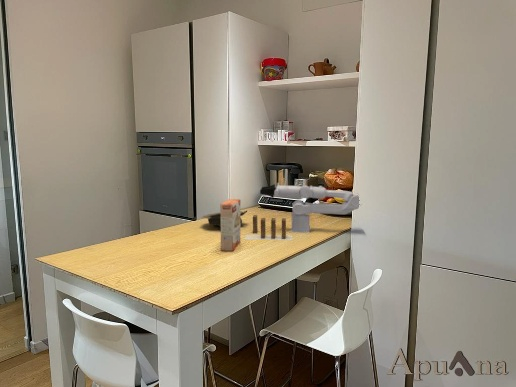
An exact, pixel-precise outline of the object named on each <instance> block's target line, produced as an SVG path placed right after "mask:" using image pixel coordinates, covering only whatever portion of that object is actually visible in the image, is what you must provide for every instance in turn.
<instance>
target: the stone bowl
mask: <svg viewBox="0 0 516 387" xmlns="http://www.w3.org/2000/svg"><path fill="white" fill-rule="evenodd" d="M247 212H248V210H245V211H241V210H240V226H241V224H242V223H243V219H242V217H243V216H244V215H245V214H246V213H247ZM201 218H203V219H207V221H208V224H210V225H212V226H219V227H221V212H216V213H209V214H207V215H206V214H204V215H202V216H201Z"/></svg>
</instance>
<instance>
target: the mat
mask: <svg viewBox="0 0 516 387" xmlns="http://www.w3.org/2000/svg"><path fill="white" fill-rule="evenodd" d="M243 240H249V241H293V235H292V234H291V235H289V234H288V235H287V234H286V239H282V234H276V237H275V239H271V234H265V239H261V234H245V236H244V237H243Z"/></svg>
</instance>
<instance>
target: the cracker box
mask: <svg viewBox="0 0 516 387" xmlns="http://www.w3.org/2000/svg"><path fill="white" fill-rule="evenodd" d="M219 205H220V209H219V210H220V212H221V226H220V251H224V252H233V251H234V250H235V249H236V248H237V247H238V246H239V244H240V243H241V225H240V217H241V216H240V211H241V199H237V198H236V199H235V198H229V199H227V200H225V201H224V202H222V203H220V204H219ZM220 212H219V213H220Z"/></svg>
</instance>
